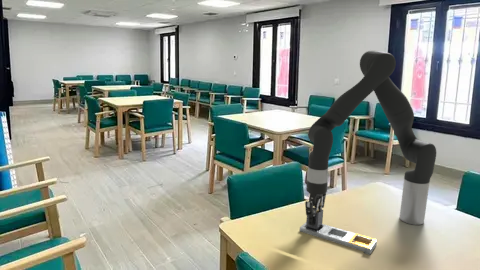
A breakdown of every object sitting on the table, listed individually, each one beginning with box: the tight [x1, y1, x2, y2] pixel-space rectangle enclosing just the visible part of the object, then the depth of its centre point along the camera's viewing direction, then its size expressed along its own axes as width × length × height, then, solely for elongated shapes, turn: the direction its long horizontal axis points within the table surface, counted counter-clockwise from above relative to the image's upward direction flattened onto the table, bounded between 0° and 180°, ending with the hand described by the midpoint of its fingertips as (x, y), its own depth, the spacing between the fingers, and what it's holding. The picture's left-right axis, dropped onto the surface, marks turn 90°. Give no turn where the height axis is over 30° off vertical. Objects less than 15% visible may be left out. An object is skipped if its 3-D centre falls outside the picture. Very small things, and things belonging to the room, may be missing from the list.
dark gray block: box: [305, 206, 324, 231], centre depth 136 cm, size 4×4×9 cm
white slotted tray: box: [299, 222, 378, 256], centre depth 132 cm, size 8×26×2 cm, turn 55°
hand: (314, 222), depth 136 cm, fingers open, 4 cm apart
